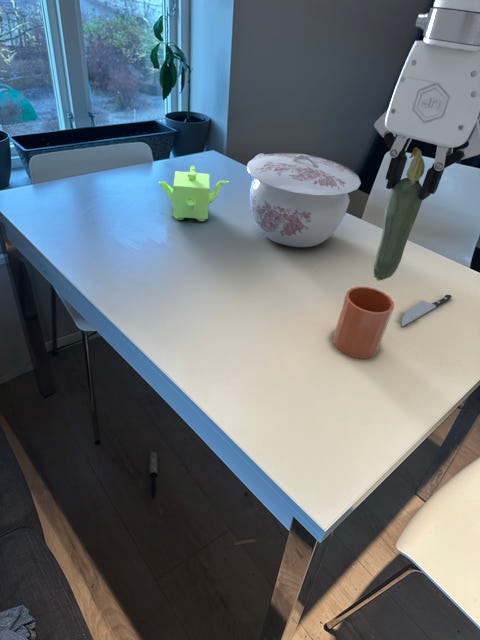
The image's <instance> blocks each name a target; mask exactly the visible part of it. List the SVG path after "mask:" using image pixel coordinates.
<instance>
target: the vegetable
mask: <svg viewBox="0 0 480 640" xmlns="http://www.w3.org/2000/svg"><path fill="white" fill-rule="evenodd" d="M412 150H413V151H412ZM411 151H412V152H411V154H410V156H409V159H411V161H410V164H409V167H408V169H407V171H406V174H405V175H406V177H404V178H401V180H400V181H398V182H397V183H396V184H395V185H394V187H393V188H392V189H390V192H389V194H388V197H387V201H386V205H385V210H384V216H383V228H382V233H381V238H380V240H379V241H380V242H379V245H378V247H377V251H376V255H375V258H374V262H373V268H372V269H373V278H375V279H376V281H377V282H381V281H383V280H385V279H388V278H391V277H392V276H393V275H394V274H395V273H396V271H397V270H398V267H399V265H400V263H401V261H402V258H403V255H404V251H405V248H406V245H407V242H408V240H409V237H410V234H411V231H412V229H413V226H414V225H415V222H416V219H417V216H418V214H419V211H420V209H421V206H422V202H423V200H421V199H419V198H418V196H419V193H420V191H421V188H422V184H421V182H420V179H421V178H422V177H423V175H424V173H425V169H426V164H425V159H424V158H423V154H422V153H423V152H422V151H421V149H419V147H414V148H412V149H411Z"/></svg>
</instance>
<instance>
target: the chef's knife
mask: <svg viewBox="0 0 480 640" xmlns="http://www.w3.org/2000/svg"><path fill="white" fill-rule="evenodd" d="M451 298H453V296H452V295H451V294H445V295H444V297H443V298H441V299H439V300H437V301H434V302H428V301H426V300H425V301H424V300H422V301H420V302H419V303H417V304H415V305H414V306H412V307H411V308H409V309H408V310H406V311H405V312H404V314H403V316H402V318H401V322H400V323H401V327H404V326H406V325H408V324H410V323H413V322H414V321H415V320H417V319H419V318H422V316H424V315H426V314H427V313H429V312H431V311H432V310H434V309H436V308H438V307H439V306H441V305H442V304H444V303H446V302H447V301H449V300H451Z"/></svg>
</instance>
